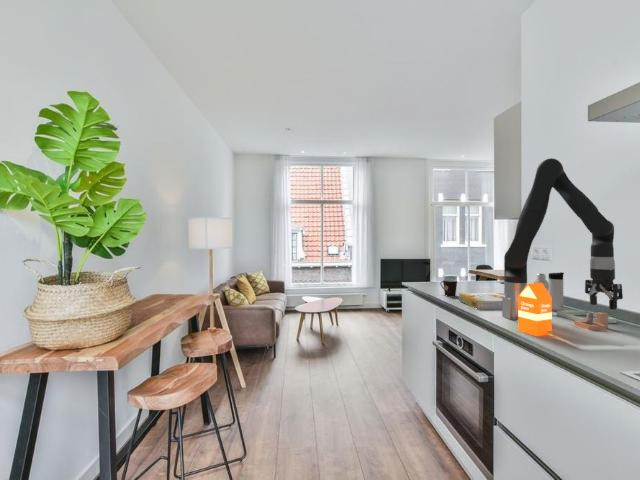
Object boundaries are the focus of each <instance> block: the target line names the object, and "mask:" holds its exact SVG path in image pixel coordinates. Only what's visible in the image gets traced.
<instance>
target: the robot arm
mask: <svg viewBox="0 0 640 480" xmlns="http://www.w3.org/2000/svg"><path fill="white" fill-rule="evenodd" d="M532 183H533V184H532V187H531V190H530V192H529V193H528V196H527V197H526V200H525V203H524V205H523V206H522V209H521V211H520V214H519V217H518V221H517V224H516V228H515V233H514V237H513V239H512V242H511V244H510V246H509V247H508V249H507V251H506V252H505V254H504V258H503V259H504V261H503V262H504V265H503V266H504V269H503V270H504V272H503V274H504V275H503V277H504V278H503V279H504V283H503V284H504V285H503V287H504V288H503V289H504V290H503V291H504V297H502V309H501V310H502V313H501V316H502V317H504V318H507V319H509V320H515V321H516V320H517V321H518V302H519V295H520V294H521V292H522V291H523V290H524V288H525V287H526V286H527V284H528V259H529V254H530V249H531V246H532V244H533V241H534V239H535V237H536V236H537V234H538V232H539V231H540V229H541V228H540V227H541V226H542V224H543V222H544V219H545V218H546V217H545V216H546V214H547V210H548V207H549V201H550V195H551V192H552V189H554V190H555V191H556V192H557V193H558V194H559V195H560V196H561V199H563V201H564V202H565V204H566V205H568V207H569V208H570V209H571V211H572V212H573V213H574V214H575V215H576V216H577V217H578V218H579V219H580V220H581V222H582V223H583V226H585V228H586V229H587V230H588V231H589V233H591V239H592V241H591V245H590V261H589V273H590V274H589V275H590V279H585V281H584V292H585V294H587V295H588V296H589V303H590V305H593V306H597V305H598V297H597V295H598V294H599V293H603V294H604V295H605V296H607V297H608V298H609V300H608V301H609V302H608V308H609V310H613V311H615V310H617V309H618V301H619V300H623V298H624V297H623V285H622V283H614V280H616V263H615V256H614V255H615V254H614V253H615V252H614V249H615V248H614V238H615V226H614V223H613V222H611V221H610V220H609V219H607V218H606V217H605V216H604V215H603V214H602V213H601V212H600V211H599V209H598V207H597V205H595V203H594V202H593V201H592V200H591V199H590V198H589V197H588V196H587V195H585V193H584V192H582V190H580V189H579V188H578V187H577V186H576V185H575V184H574V183H573V182H572V181H571V180H570V178H569V177H568V175H567V174H566V172H565V170H564V167H563V164H562V163H561V162H560V161H559V160H558V159H556V158H547V159H545V160H543V161H542V162H540V163H539V165H538V166H537V167H536V172H535V176H534V179H533V182H532Z"/></svg>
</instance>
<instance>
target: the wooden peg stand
mask: <svg viewBox="0 0 640 480" xmlns="http://www.w3.org/2000/svg"><path fill="white" fill-rule="evenodd" d="M586 318H587V324H588V325H593V318H594V317H593V313H588V312H587V315H586ZM568 325H570V326H572V327H574V328H578V329H579V330H583V331H586V332H612V330H611V329H608V328H606V330H587V329H584V328H581V327H578V326H575V325H574V323H570V324H569V323H568Z"/></svg>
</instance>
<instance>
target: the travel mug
mask: <svg viewBox="0 0 640 480" xmlns="http://www.w3.org/2000/svg"><path fill="white" fill-rule="evenodd" d="M564 275H565V273H564V272H550V273H548V280H547V282H548V283H549V289H548V293H549V294H550V296H551V297H552V312H556V313H557V311H564Z"/></svg>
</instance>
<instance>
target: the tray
mask: <svg viewBox="0 0 640 480" xmlns="http://www.w3.org/2000/svg"><path fill="white" fill-rule="evenodd" d="M587 312H588V313H593V322H596V312H593V311H590V310H563V311H557V312H556V316H560V317H562V318H567V319H569V320H571V321H572V320H573V321H587V317H586V318H585V317H580V316H587ZM616 323H617V318H616V317H615V318H614V317H611V316H608V324H616Z"/></svg>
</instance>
